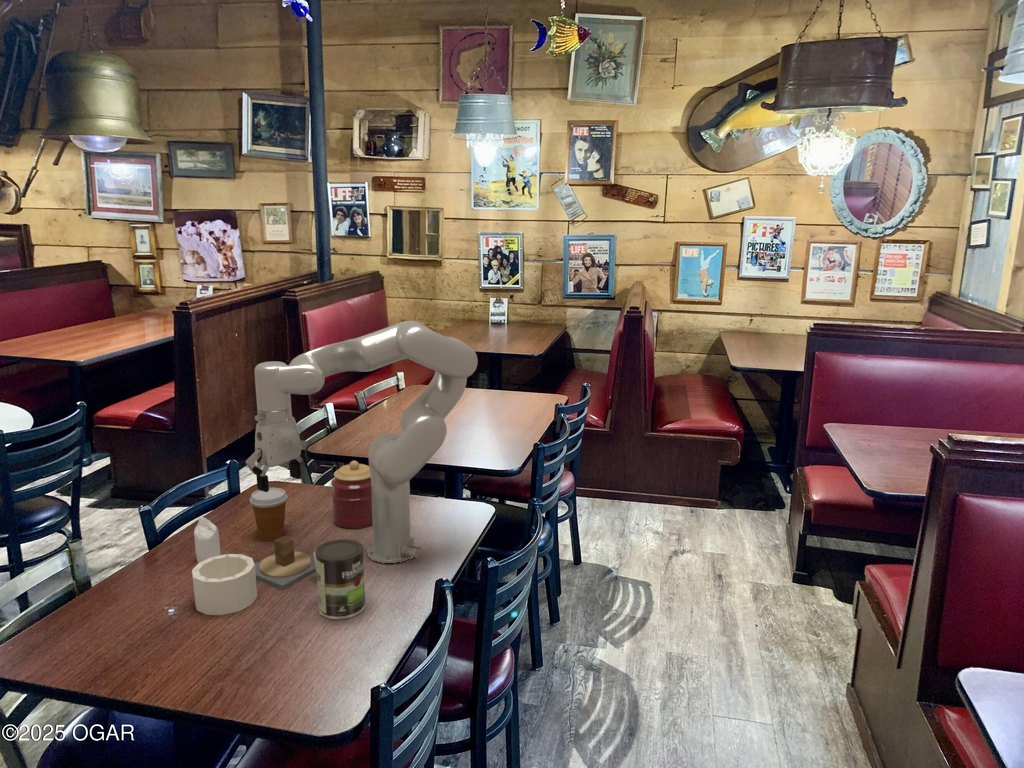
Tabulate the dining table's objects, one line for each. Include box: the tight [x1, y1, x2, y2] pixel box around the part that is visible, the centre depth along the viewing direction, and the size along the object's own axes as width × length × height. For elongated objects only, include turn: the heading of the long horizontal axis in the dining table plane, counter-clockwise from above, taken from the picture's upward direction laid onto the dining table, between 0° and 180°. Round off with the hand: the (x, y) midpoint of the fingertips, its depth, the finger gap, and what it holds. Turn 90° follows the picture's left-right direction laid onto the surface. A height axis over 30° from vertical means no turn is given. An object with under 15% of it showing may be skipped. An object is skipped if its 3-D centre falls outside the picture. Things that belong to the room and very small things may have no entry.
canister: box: [330, 460, 373, 529], centre depth 207 cm, size 13×13×18 cm
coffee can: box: [314, 538, 366, 620], centre depth 163 cm, size 10×10×14 cm
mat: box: [254, 549, 317, 590], centre depth 181 cm, size 14×14×1 cm
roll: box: [193, 515, 222, 564], centre depth 184 cm, size 6×12×6 cm
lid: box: [259, 535, 311, 578], centre depth 180 cm, size 12×12×7 cm
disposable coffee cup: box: [249, 487, 288, 541], centre depth 198 cm, size 10×10×12 cm
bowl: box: [191, 553, 258, 616], centre depth 166 cm, size 13×13×8 cm
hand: (279, 484), depth 176 cm, fingers open, 9 cm apart
